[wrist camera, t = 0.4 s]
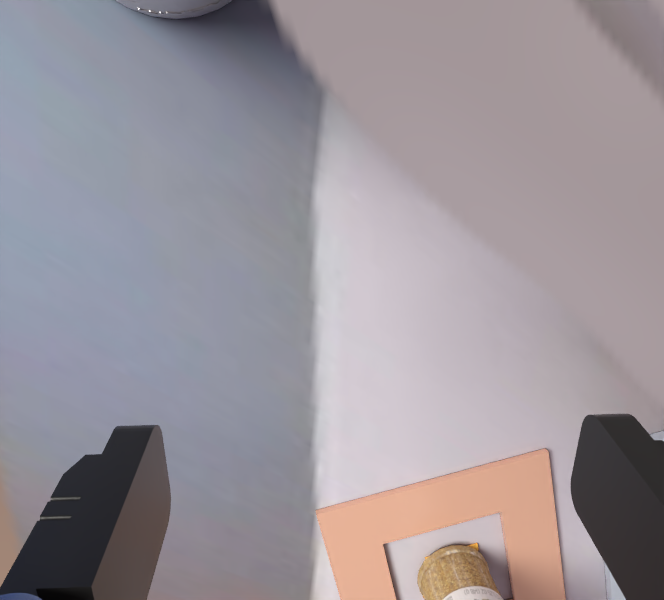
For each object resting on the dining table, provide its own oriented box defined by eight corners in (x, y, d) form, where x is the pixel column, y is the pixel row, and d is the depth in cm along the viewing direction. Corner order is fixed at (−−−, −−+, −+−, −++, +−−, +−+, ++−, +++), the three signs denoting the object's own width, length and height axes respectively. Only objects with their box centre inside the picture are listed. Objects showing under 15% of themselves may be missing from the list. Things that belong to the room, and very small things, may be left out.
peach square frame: (315, 510, 34) (316, 514, 34) (545, 448, 35) (548, 452, 35) (364, 678, 39) (365, 684, 39) (565, 621, 40) (568, 626, 39)
